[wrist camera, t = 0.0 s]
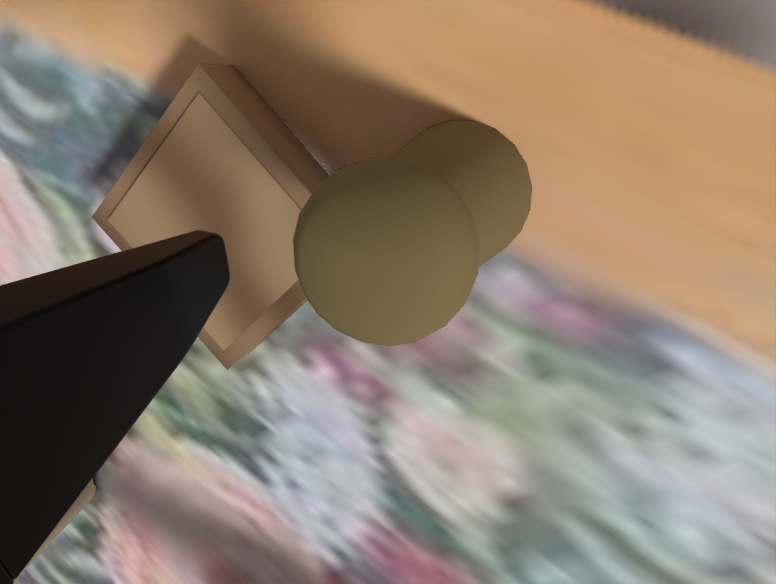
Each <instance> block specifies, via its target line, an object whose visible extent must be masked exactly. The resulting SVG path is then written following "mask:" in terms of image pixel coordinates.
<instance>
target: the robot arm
mask: <svg viewBox="0 0 776 584" xmlns="http://www.w3.org/2000/svg"><path fill="white" fill-rule="evenodd" d="M229 280H230V271H229V265H228V260H227V254H226V249H225V243H224V240H223V238H222V237H221V236H220V235H219V234H217V233H212V232H208V231H203V230H195V231H192V232H188V233H185V234H181V235H178V236H174V237H171V238H167V239H164V240H160V241H157V242H153V243H149V244H146V245H142V246H139V247H135V248H132V249H128V250H125V251H121V252H118V253H114V254H110V255H107V256H103V257H100V258H96V259H93V260H89V261H86V262H82V263H79V264H75V265H72V266H68V267H64V268H61V269H57V270H54V271H50V272H47V273H43V274H40V275H36V276H33V277H29V278H25V279H22V280H18V281H15V282H11V283H8V284H4V285H1V286H0V584H13V583H14V580H13V579H16V578H17V577H18V576H19V575H20V573H21V572H22V571H23V570H24V568H25V567H26V566H27V564H28V563H29V562H30V560H31V559H32V558H33V556H34V555H35V554H36V552H37V551H38V550H39V548H40V547H41V546H42V544H43V543H44V542H45V540H46V539H47V538H48V537H49V535H50V534H51V533H52V531H53V530H54V529H55V527H56V526H57V525H58V523H59V522H60V521H61V519H62V518H63V517H64V515H65V514H66V513H67V511H68V510H69V509H70V507H71V506H72V505H73V504H74V502H75V501H76V500H77V498H78V497H79V496H80V494H81V493H82V492H83V490H84V489H85V488H86V486H87V485H88V484H89V482H90V481H91V480H92V478H93V477H94V476H95V475H96V473H97V472H98V471H99V469H100V468H101V467H102V465H103V464H104V463H105V461H106V460H107V459H108V457H109V456H110V455H111V453H112V452H113V451H114V449H115V448H116V447H117V445H118V444H119V443H120V442H121V440H122V439H123V438H124V436H125V435H126V434H127V432H128V431H129V430H130V428H131V427H132V426H133V424H134V423H135V422H136V420H137V419H138V418H139V416H140V415H141V414H142V413H143V411H144V410H145V409H146V407H147V406H148V405H149V403H150V402H151V401H152V399H153V398H154V397H155V395H156V394H157V393H158V391H159V390H160V389H161V387H162V386H163V385H164V383H165V382H166V381H167V380H168V378H169V377H170V376H171V374H172V373H173V372H174V370H175V369H176V368H177V366H178V365H179V364H180V362H181V361H182V360H183V358H184V357H185V355H186V354H187V353H188V351H189V349H190V348H191V346H192V345H193V343H194V342H195V340H196V338H197V337H198V335H199V333H200V332H201V330H202V328H203V327H204V325H205V323H206V322H207V320H208V318H209V317H210V315H211V313H212V312H213V310H214V308H215V307H216V305H217V303H218V302H219V300H220V298H221V297H222V295H223V294H224V292H225V290H226V289H227V286H228V284H229Z"/></svg>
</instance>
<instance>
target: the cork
mask: <svg viewBox="0 0 776 584" xmlns="http://www.w3.org/2000/svg"><path fill="white" fill-rule="evenodd" d="M531 193H532V185H531V181H530V177H529V172H528V168H527V164H526V163H525V161H524V159H523V158H522V156H521V154H520V153H519V151H518V150H517V148H516V146H515V145H514V144H513V143H512V142H511V141H510V140H508V139H507V138H506V137H505V136H504V135H502V134H501V133H500V132H499V131H497V130H496V129H494V128H492V127H489V126H486V125H484V124H481V123H478V122H475V121H460V120H450V121H447V122H444V123H441V124H437V125H434V126H431V127H429V128H427V129H426V130H425V131H423V132H422V133H421V134H419V135H418V136H417V137H415V138H414V139H412V140H411V141H410V142H409V143H408V144H407V145H406V146H405V147H403V148H402V149H401V150H400V151H399V152H398V153H397V154H396V155H395V156H394V157H393V158H372V159H369V160H366V161H363V162H359V163H356V164H353V165H350V166H346V167H343V168H340V169H339V170H338V171H336V172H335V173H334V174H332V175H331V176H330V177H328V178H327V179H326V180H325V181H323V182H322V183H321V184H319V185H318V187H317V188H316V189H315V190H314V192H313V193H312V195H311V196H310V198H309V199H308V201H307V202H306V204H305V206H304V207H303V209H302V210H301V212H300V213H299V217H298V221H297V225H296V229H295V233H294V237H293V249H294V266H295V271H296V274H297V277H298V280H299V283H300V285H301V288H302V291H303V294H304V295H305V297H306V298H307V300H308V301H309V302H310V304H311V305H312V307H313V308H314V310H315V311H316V313H317V314H318V315H319V316H320V317H322V318H323V319H324V320H325V321H326V322H327V323H329V324H330V325H331V326H332V327H333V328H334V329H336V330H337V331H339V332H341V333H344V334H346V335H348V336H350V337H352V338H354V339H356V340H359V341H361V342H365V343H372V344H378V345H384V346H393V345H400V344H406V343H413V342H416V341H418V340H420V339H422V338H424V337H425V336H427V335H429V334H431V333H433V332H435V331H437V330H439V329H441V328H442V327H444V326H446V325H447V323H448V322H449V321H450V320H451V319H452V318H453V317H454V316H455V315H456V314H457V312H458V311H459V310H460V309H461V308H462V307H463V306H464V304H465V302H466V300H467V299H468V296H469V294H470V291H471V289H472V287H473V284H474V282H475V279H476V277H477V274H478V267H479V266H481V265H482V264H483V263H485V262H486V261H488V260H489V259H491V258H492V257H493V256H495V255H496V254H498V253H499V252H500V251H502V250H503V249H505V248H506V247H507V246H508V245H509V244H510V243H511V241H512V240H513V239H514V238H515V237H516V236H517V235H518V234H519V233H520V231H521V230H522V227H523V225H524V223H525V220H526V218H527V216H528V214H529V211H530V204H531Z"/></svg>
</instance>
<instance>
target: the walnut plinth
mask: <svg viewBox="0 0 776 584" xmlns="http://www.w3.org/2000/svg"><path fill="white" fill-rule="evenodd" d="M328 177H330V176H329V175H328V174H327V173H326V172H325V171H324V169H323V168H322V167H321V166H320V165H319V164H318V163H317V161H316V160H315V159H314V158H313V157H312V156H311V154H310V153H309V152H308V151H307V150H306V149H305V147H304V146H303V145H302V144H301V143H300V142H299V141H298V139H297V138H296V137H295V136H294V135H293V134H292V132H291V131H290V130H289V129H288V128H287V127H286V125H285V124H284V123H283V122H282V121H281V120H280V119H279V117H278V116H277V115H276V114H275V113H274V112H273V110H272V109H271V108H270V107H269V106H268V105H267V103H266V102H265V101H264V100H263V99H262V98H261V97H260V95H259V94H258V93H257V92H256V91H255V90H254V88H253V87H252V86H251V85H250V84H249V83H248V81H247V80H246V79H245V78H244V77H243V76H242V75H241V73H240V72H239V71H238V70H237V69H236V68H235V66H234V65H218V64H198V65H197V67H196V68H195V69H194V71H193V72H192V74H191V75H190V77H189V78H188V80H187V81H186V82H185V84H184V85H183V87H182V88H181V90H180V91H179V92H178V94H177V95H176V97H175V98H174V100H173V101H172V103H171V104H170V105H169V107H168V108H167V110H166V111H165V113H164V114H163V115H162V117H161V118H160V120H159V121H158V123H157V124H156V126H155V127H154V128H153V130H152V131H151V133H150V134H149V136H148V137H147V139H146V140H145V141H144V143H143V144H142V146H141V147H140V149H139V150H138V151H137V153H136V154H135V156H134V157H133V159H132V160H131V162H130V163H129V164H128V166H127V167H126V169H125V170H124V172H123V173H122V174H121V176H120V177H119V179H118V180H117V182H116V183H115V185H114V186H113V187H112V189H111V190H110V192H109V193H108V195H107V196H106V198H105V199H104V200H103V202H102V203H101V205H100V206H99V208H98V209H97V210H96V212H95V213H94V215H93V216H92V218H93V219H94V220H95V221H96V222H97V223H98V225H99V226H100V227H101V228H102V229H103V230H104V231H105V232H106V234H107V235H108V236H109V237H110V238H111V239H112V240H113V242H114V243H115V244H116V245H117V246H118V247H119V248H120V249H121V251H125V250H128V249H132V248H135V247H139V246H142V245H146V244H149V243H153V242H157V241H160V240H164V239H167V238H171V237H174V236H178V235H181V234H185V233H188V232H192V231H195V230H203V231H208V232H212V233H217V234H219V235H220V236H221V237H222V238H223V240H224V243H225V249H226V254H227V260H228V265H229V271H230V280H229V284H228V286H227V289H226V290H225V292H224V294H223V295H222V297H221V298H220V300H219V302H218V303H217V305H216V307H215V308H214V310H213V312H212V313H211V315H210V317H209V318H208V320H207V322H206V323H205V325H204V327H203V328H202V330H201V332H200V333H199V335H198V337H199V338H200V340H201V341H202V342H203V343H204V344H205V345H206V346H207V348H208V349H209V350H210V351H211V352H212V353H213V354H214V355H215V357H216V358H217V359H218V360H219V361H220V362H221V363H222V364H223V366H224V367H225V368H226V369H227V370H228V369H229V368H230V367H231V366H233V365H234V364H235V363H237V362H238V361H239V360H240V359H242V358H243V357H244V356H246V355H247V354H248V353H249V352H251V351H252V350H253V349H255V348H256V347H257V346H258V345H259V344H260V343H261V342H262V341H263V340H264V339H265V338H267V337H268V336H269V335H270V334H271V333H272V332H273V331H274V330H275V329H276V328H278V327H279V326H280V325H281V324H282V323H283V322H284V321H285V320H286V319H287V318H288V317H290V316H291V315H292V314H293V313H294V312H295V311H296V310H297V309H298V308H299V307H301V306H302V305H303V304H304V303H305V302H306V301H307V298H306V297H305V295H304V294H303V291H302V288H301V285H300V283H299V280H298V277H297V274H296V271H295V266H294V249H293V237H294V233H295V229H296V225H297V221H298V217H299V213H300V212H301V210H302V209H303V207H304V206H305V204H306V202H307V201H308V199H309V198H310V196H311V195H312V193H313V192H314V190H315V189H316V188H317V187H318V185H319V184H321V183H322V182H323V181H325V180H326V179H327V178H328Z"/></svg>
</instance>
